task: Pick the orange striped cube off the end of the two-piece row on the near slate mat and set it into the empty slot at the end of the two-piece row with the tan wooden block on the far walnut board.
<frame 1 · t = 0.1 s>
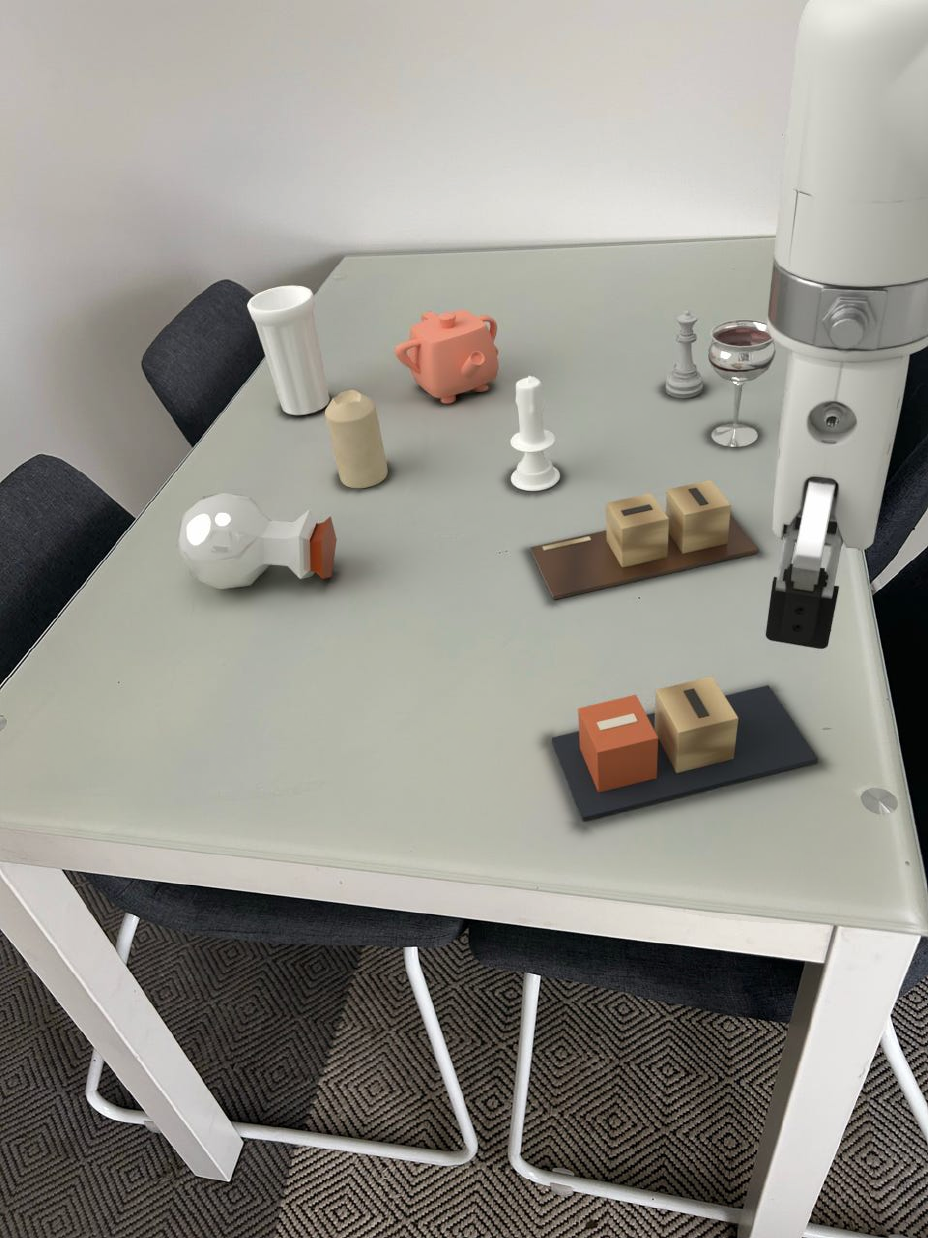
hand: (807, 585, 54), 20 cm above the table, tool pointing down, fingers open, 9 cm apart
potion bottle: (267, 577, 94), on the table
orange striped cube: (617, 763, 70), resting on near mat
near mat: (680, 752, 71), on the table
candle 2: (535, 479, 102), on the table
far letter i: (636, 549, 90), resting on far board
cup: (306, 407, 121), on the table
chess piece: (683, 391, 113), on the table
candle: (364, 477, 106), on the table
teapot: (455, 391, 120), on the table
near letter a: (693, 744, 71), resting on near mat
wineglass: (734, 436, 104), on the table
far board: (641, 552, 90), on the table
tan wooden block: (695, 535, 90), resting on far board
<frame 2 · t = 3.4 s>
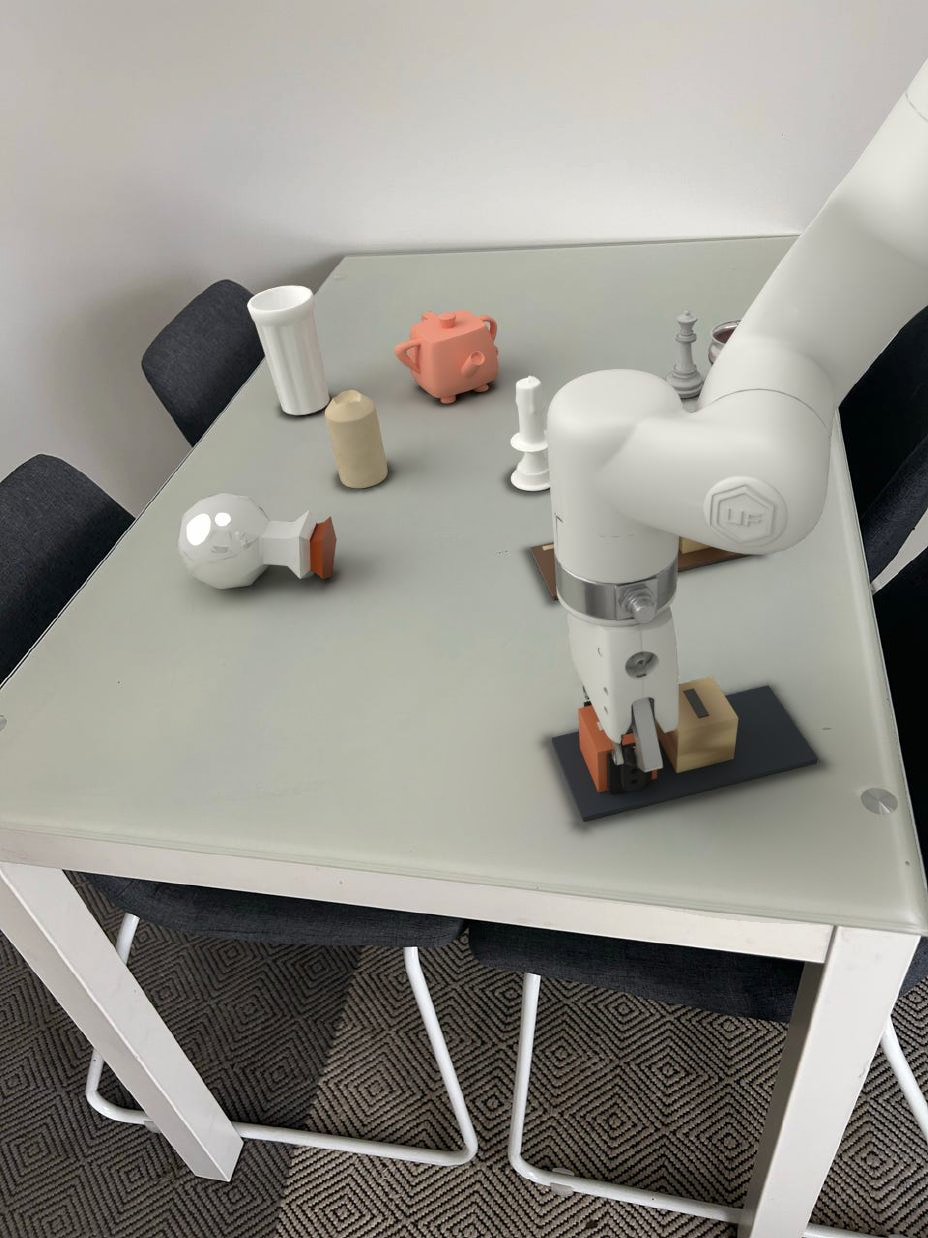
hand: (617, 759, 70), 1 cm above the table, tool pointing down, fingers closed on orange striped cube, 4 cm apart
orange striped cube: (617, 763, 70), point 1 cm above the table, touching gripper, near mat
everything else where it was.
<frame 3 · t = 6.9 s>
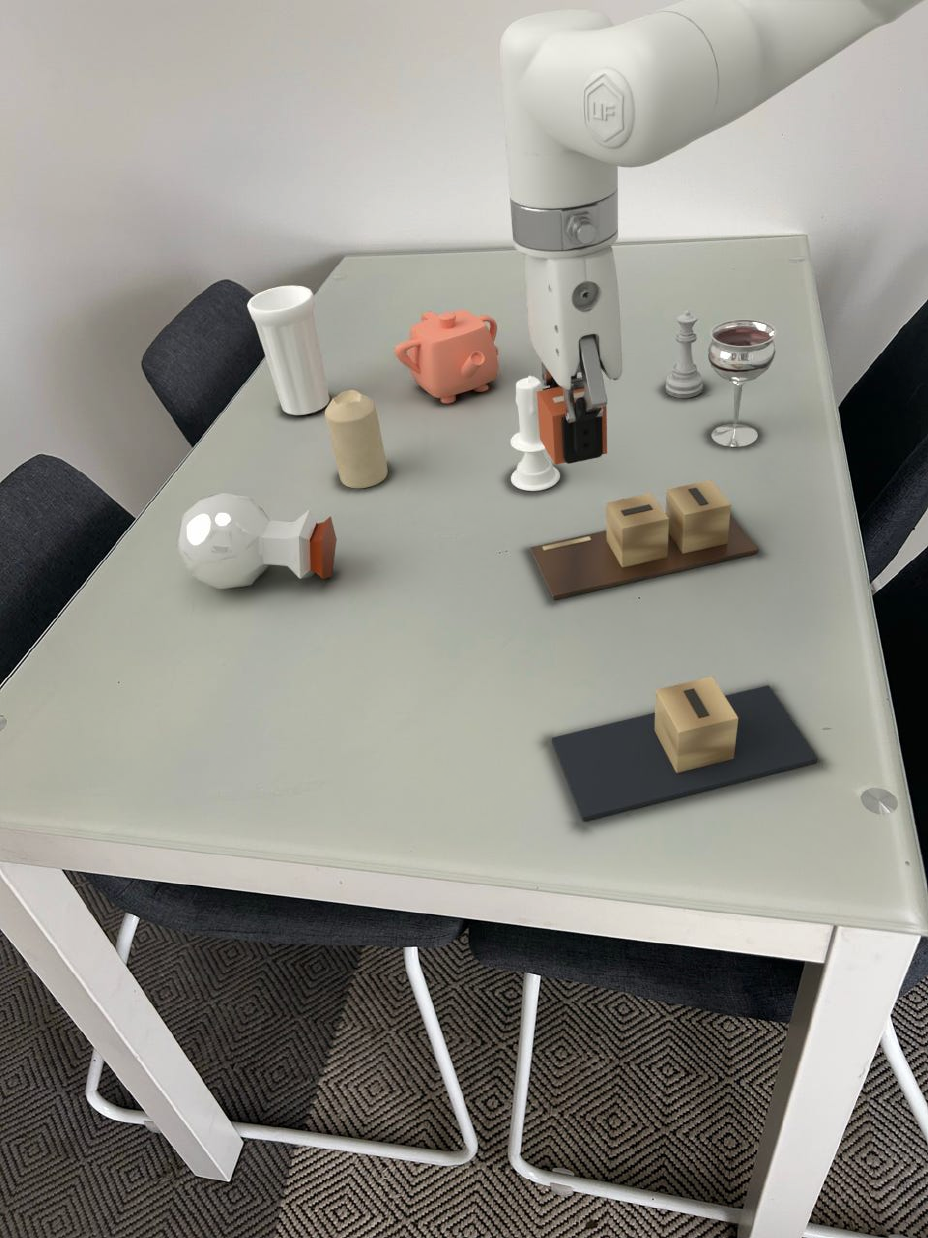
hand: (573, 441, 78), 15 cm above the table, tool pointing down, fingers closed on orange striped cube, 4 cm apart
orange striped cube: (572, 446, 78), point 15 cm above the table, touching gripper
everything else where it was.
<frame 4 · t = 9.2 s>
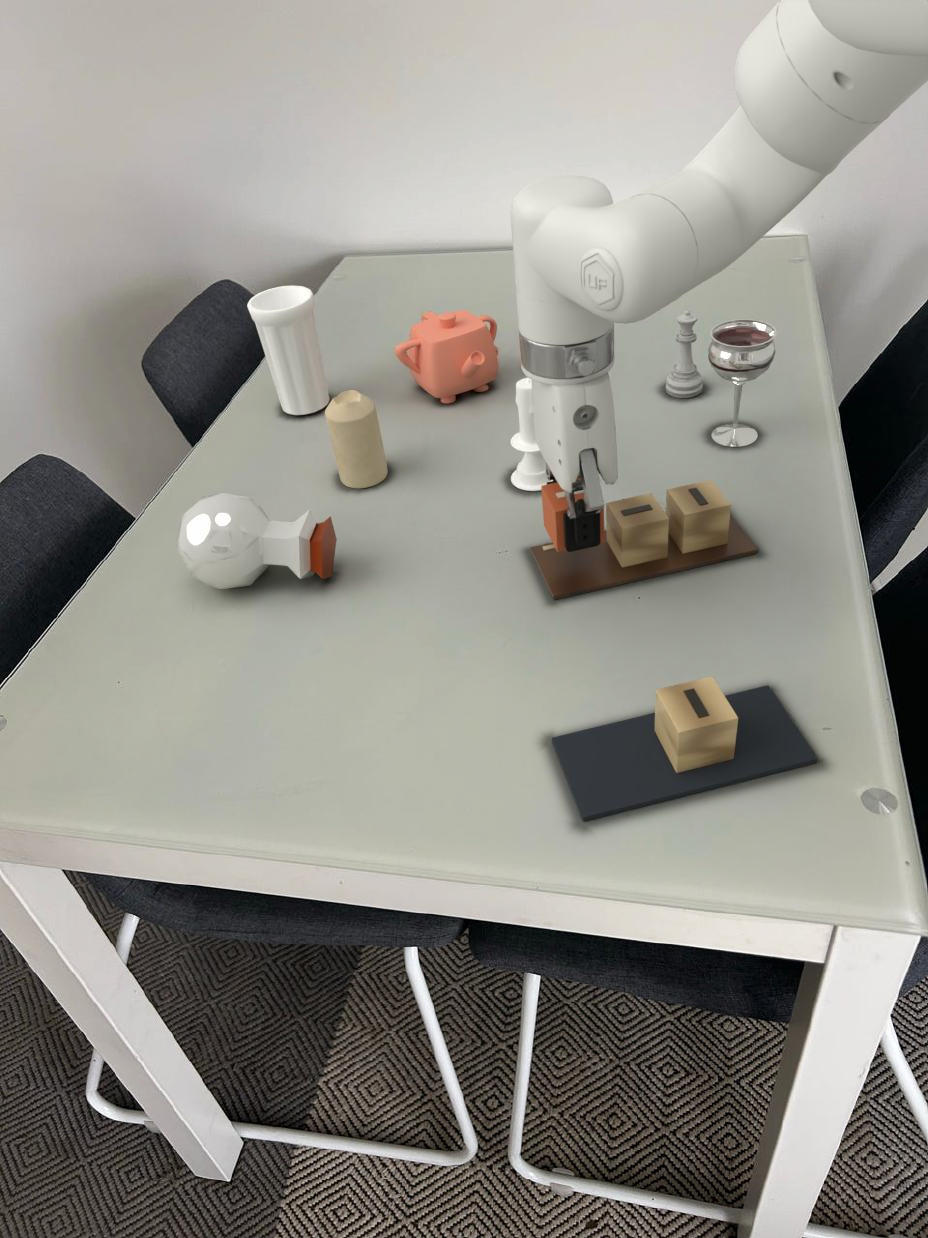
hand: (573, 529, 87), 4 cm above the table, tool pointing down, fingers closed on orange striped cube, 4 cm apart
orange striped cube: (573, 533, 87), point 4 cm above the table, touching gripper
everything else where it was.
when the fingers open (1 cm above the table, at t = 10.5 s): orange striped cube stays where it is, resting on far board.
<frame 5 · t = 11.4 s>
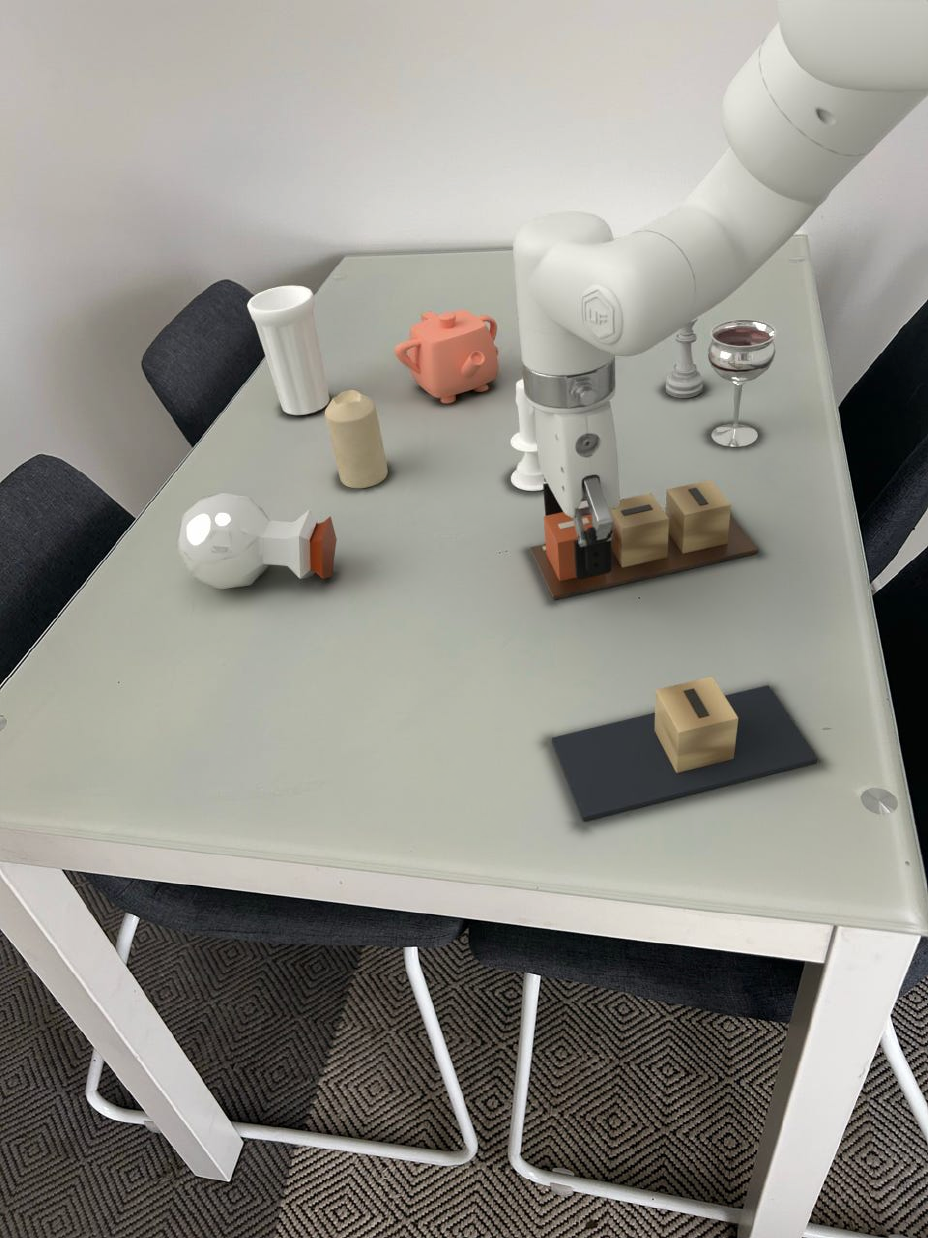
hand: (577, 544, 88), 3 cm above the table, tool pointing down, fingers open, 9 cm apart
orange striped cube: (575, 562, 89), resting on far board
everything else where it was.
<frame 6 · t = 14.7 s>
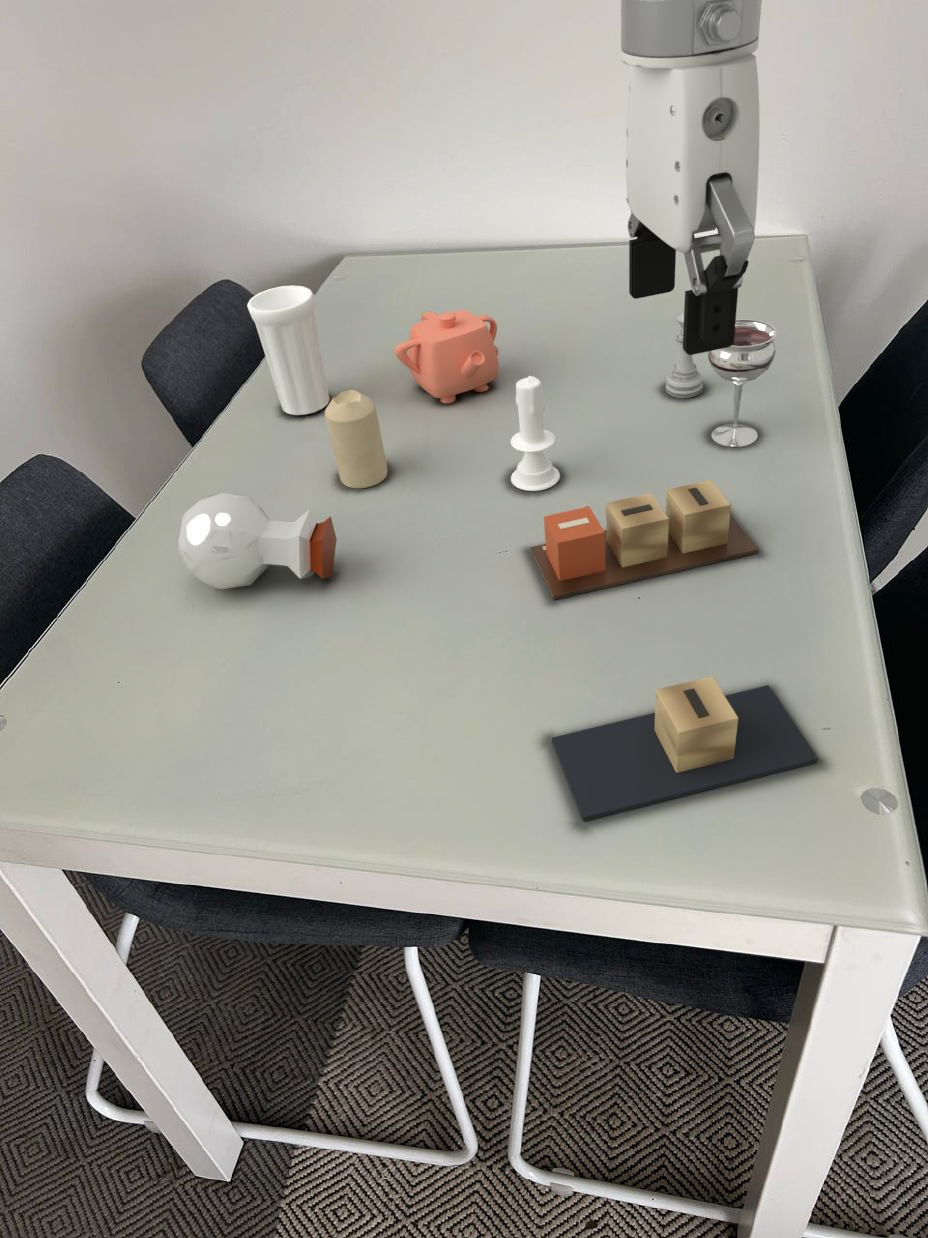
hand: (678, 319, 63), 28 cm above the table, tool pointing down, fingers open, 9 cm apart
nothing on the table moved.
at the end: orange striped cube 0.1 cm from the target spot on the far board, point 0.5 cm above the far board's base; orange striped cube tilted 0° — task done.
